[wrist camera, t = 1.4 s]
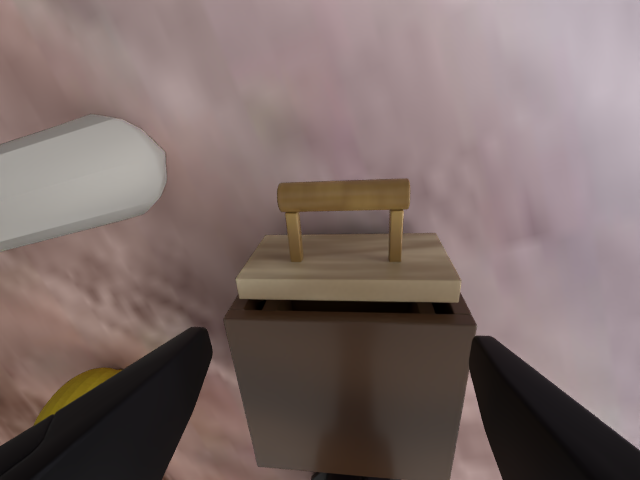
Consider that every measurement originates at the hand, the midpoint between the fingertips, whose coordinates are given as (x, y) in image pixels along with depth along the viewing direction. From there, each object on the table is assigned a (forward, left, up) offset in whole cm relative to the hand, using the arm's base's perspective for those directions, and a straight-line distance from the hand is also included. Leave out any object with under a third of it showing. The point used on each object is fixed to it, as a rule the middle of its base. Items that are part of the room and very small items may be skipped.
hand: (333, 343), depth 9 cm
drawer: (-4, -3, -11) cm, 12 cm away
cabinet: (-7, -5, -12) cm, 15 cm away
